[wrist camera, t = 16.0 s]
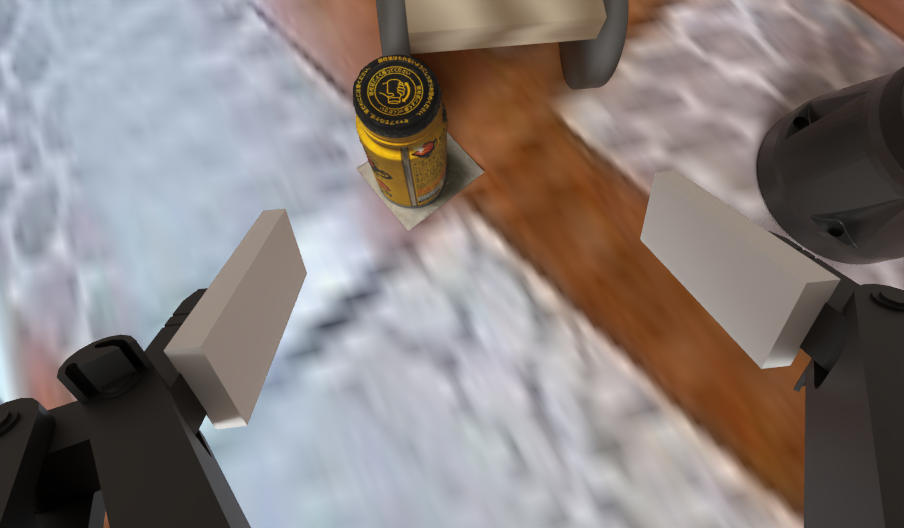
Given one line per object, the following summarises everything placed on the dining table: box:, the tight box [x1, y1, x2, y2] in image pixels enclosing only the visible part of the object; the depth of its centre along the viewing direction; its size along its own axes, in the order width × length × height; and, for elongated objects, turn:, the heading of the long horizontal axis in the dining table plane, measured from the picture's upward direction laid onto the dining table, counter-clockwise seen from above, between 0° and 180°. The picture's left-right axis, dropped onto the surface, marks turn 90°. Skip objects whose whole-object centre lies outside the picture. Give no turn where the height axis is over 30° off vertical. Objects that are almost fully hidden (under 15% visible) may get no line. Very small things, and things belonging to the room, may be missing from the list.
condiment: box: [353, 54, 484, 231], centre depth 29 cm, size 7×8×12 cm
